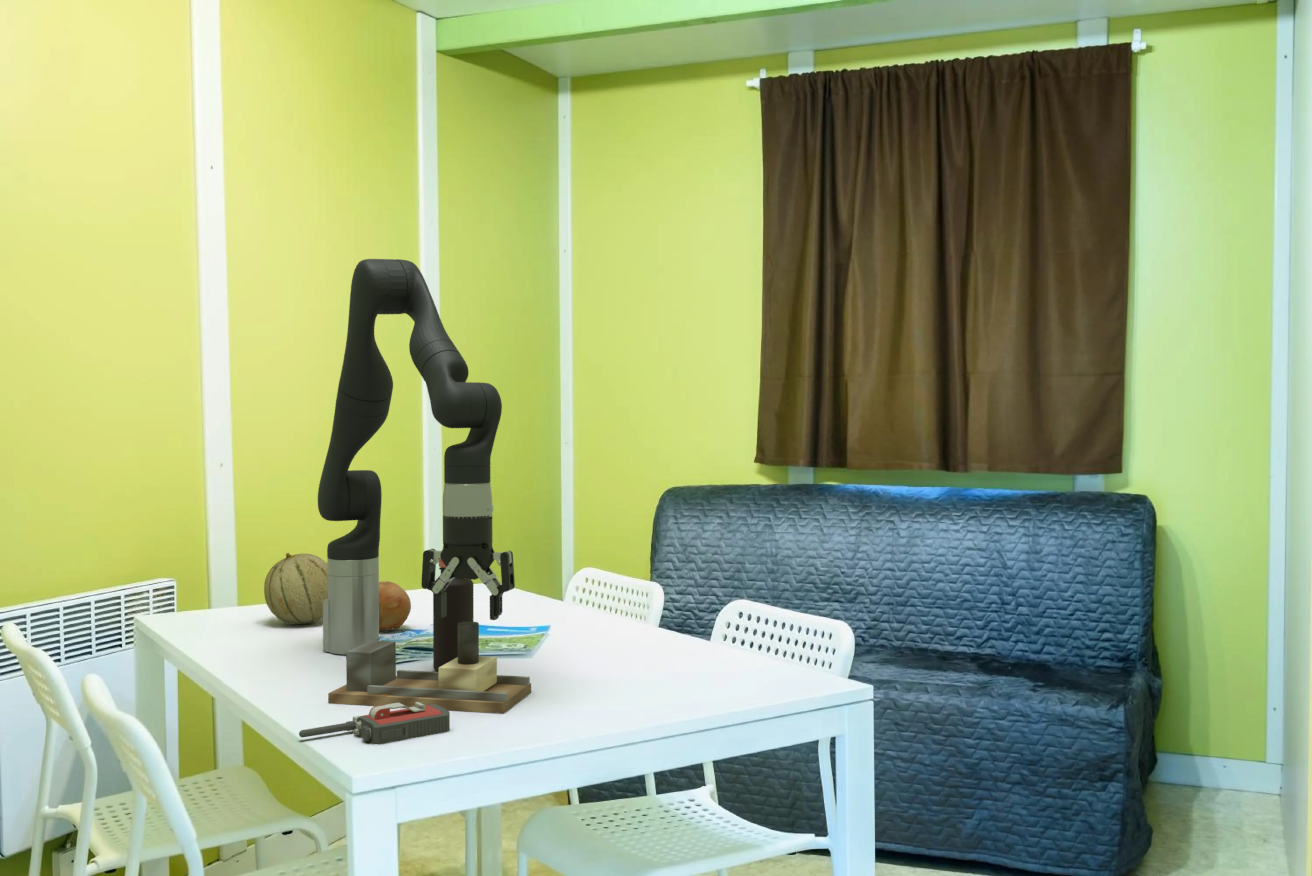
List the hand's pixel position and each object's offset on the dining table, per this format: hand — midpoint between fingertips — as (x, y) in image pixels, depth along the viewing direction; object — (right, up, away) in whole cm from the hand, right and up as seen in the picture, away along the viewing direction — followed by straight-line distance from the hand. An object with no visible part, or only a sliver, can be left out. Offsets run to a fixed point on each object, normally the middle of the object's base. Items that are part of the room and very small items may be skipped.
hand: (468, 618), depth 180 cm
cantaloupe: (-45, -11, +63) cm, 78 cm away
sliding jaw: (0, -11, 0) cm, 11 cm away
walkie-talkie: (-9, -14, -19) cm, 25 cm away
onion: (-25, -11, +56) cm, 63 cm away
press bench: (-6, -13, +2) cm, 14 cm away
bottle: (-6, -12, +21) cm, 25 cm away
